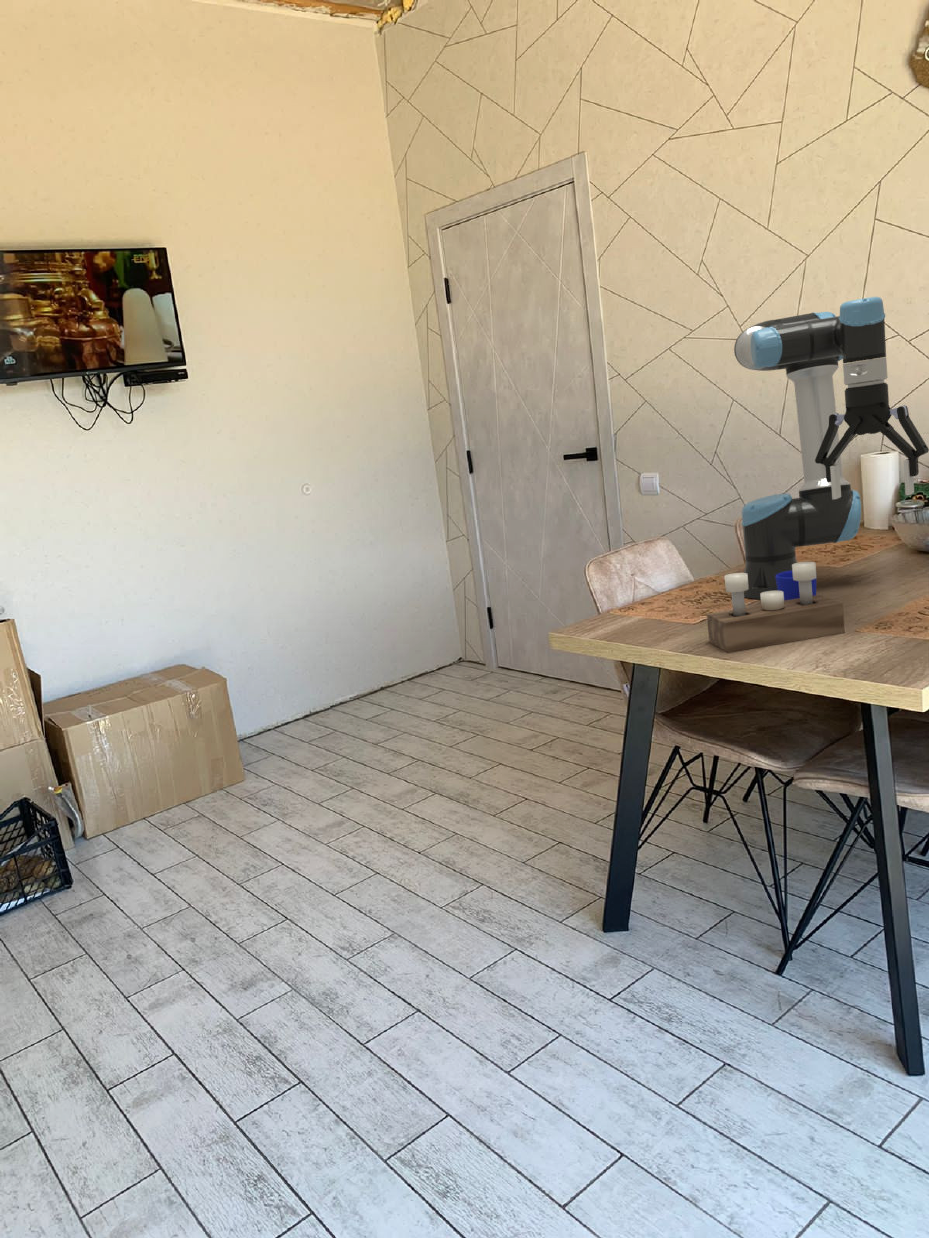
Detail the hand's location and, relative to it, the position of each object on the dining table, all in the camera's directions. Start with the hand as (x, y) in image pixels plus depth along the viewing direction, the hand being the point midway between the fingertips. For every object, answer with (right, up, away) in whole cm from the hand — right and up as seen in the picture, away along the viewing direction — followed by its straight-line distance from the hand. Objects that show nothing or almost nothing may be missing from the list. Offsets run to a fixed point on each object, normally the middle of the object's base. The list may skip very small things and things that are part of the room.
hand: (872, 496), depth 180 cm
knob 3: (-10, -21, +8) cm, 24 cm away
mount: (-16, -27, +8) cm, 33 cm away
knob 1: (-24, -23, +7) cm, 34 cm away
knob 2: (-16, -27, +8) cm, 32 cm away
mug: (-6, -24, +22) cm, 32 cm away
